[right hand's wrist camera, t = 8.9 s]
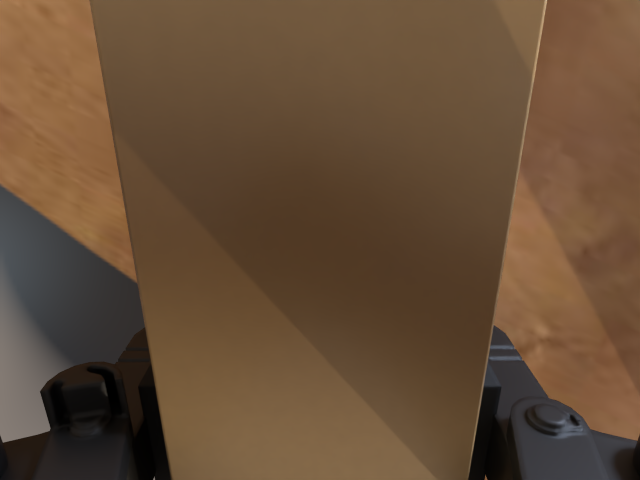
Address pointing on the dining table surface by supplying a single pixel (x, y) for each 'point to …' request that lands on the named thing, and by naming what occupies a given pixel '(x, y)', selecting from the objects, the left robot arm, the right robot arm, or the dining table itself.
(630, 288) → the dining table surface
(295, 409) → the beam
